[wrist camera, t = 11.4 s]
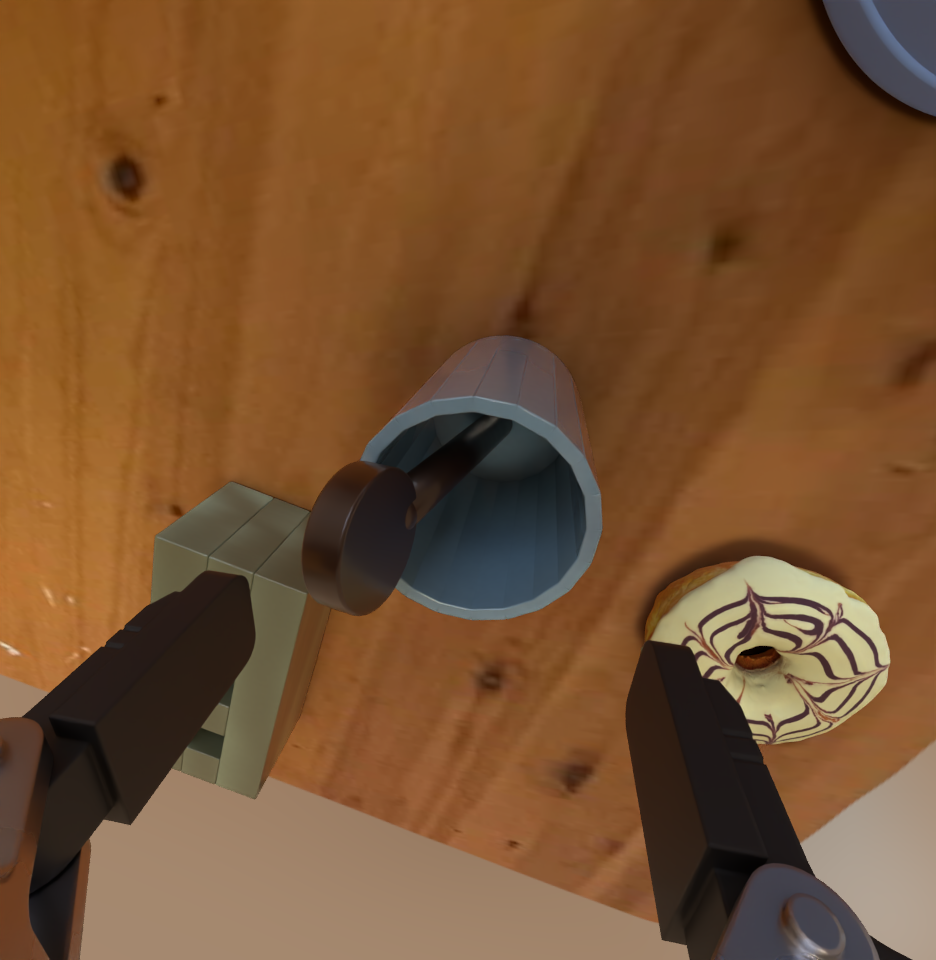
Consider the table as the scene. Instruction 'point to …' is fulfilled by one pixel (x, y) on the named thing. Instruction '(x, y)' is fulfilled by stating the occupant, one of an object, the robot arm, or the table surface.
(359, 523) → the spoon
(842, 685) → the decorated donut
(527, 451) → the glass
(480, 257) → the table surface
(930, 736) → the table surface
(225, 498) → the stand
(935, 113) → the water jug
